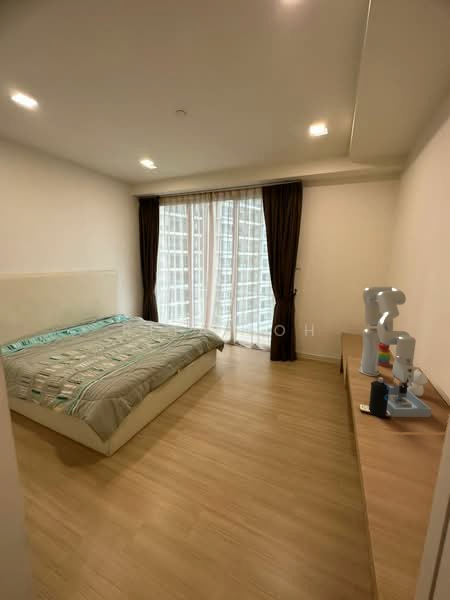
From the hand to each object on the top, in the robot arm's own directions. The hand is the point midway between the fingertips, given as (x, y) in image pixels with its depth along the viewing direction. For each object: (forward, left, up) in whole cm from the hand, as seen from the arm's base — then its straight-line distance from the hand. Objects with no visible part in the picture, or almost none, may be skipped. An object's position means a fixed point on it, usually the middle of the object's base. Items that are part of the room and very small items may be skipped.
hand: (400, 390), depth 126 cm
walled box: (0, 0, -9) cm, 9 cm away
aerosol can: (+6, -14, -9) cm, 18 cm away
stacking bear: (-49, +20, -10) cm, 54 cm away
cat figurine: (-12, +15, -10) cm, 21 cm away
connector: (0, 0, -3) cm, 3 cm away
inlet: (0, 0, -8) cm, 8 cm away
